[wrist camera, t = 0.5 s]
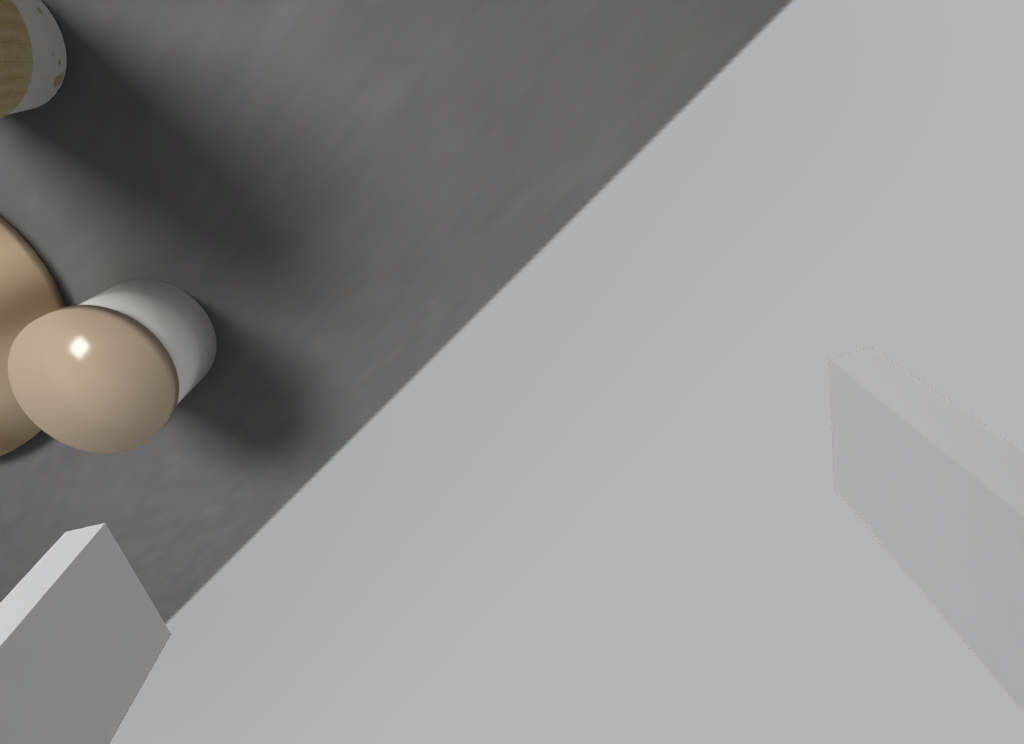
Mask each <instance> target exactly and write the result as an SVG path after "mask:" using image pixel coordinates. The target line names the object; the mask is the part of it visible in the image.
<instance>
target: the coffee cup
mask: <svg viewBox="0 0 1024 744" xmlns="http://www.w3.org/2000/svg"><path fill="white" fill-rule="evenodd" d="M66 64H67V59H66V48H65V44H64V40H63V36H62V33H61V31H60V29H59V27H58V24H57V22H56V20H55V19H54V17H53V16H52V14H51V13H50V11H49V9H48V8H47V7H46V6H45V5H44V4H43V2H42V1H41V0H0V119H1V118H3V117H5V116H7V115H9V114H13V113H17V112H21V111H26V110H30V109H34V108H37V107H39V106H41V105H43V104H45V103H47V102H48V101H49V100H50V99H51V98H52V97H53V96H55V94H56V93H57V91H58V90H59V88H60V87H61V85H62V82H63V79H64V77H65V72H66Z"/></svg>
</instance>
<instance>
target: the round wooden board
mask: <svg viewBox="0 0 1024 744" xmlns="http://www.w3.org/2000/svg"><path fill="white" fill-rule="evenodd" d="M63 307H66V305H65V303H64V301H63V298H62V296H61V293H60V291H59V289H58V287H57V285H56V283H55V281H54V280H53V278H52V276H51V274H50V273H49V271H48V269H47V267H46V266H45V265H44V263H43V262H42V261H41V259H40V258H39V256H38V255H37V254H36V252H35V251H34V250H33V248H32V247H31V246H30V245H29V244H28V243H27V242H26V240H25V239H24V238H23V237H22V236H21V235H20V234H19V233H18V232H17V230H16V229H14V228H13V227H12V226H11V225H10V224H9V223H8V222H7V221H6V220H5V219H3V218H2V217H1V216H0V456H2V455H4V454H6V453H8V452H11V451H13V450H15V449H16V448H18V447H19V446H21V445H23V444H24V443H26V442H27V441H29V440H30V439H31V438H33V437H34V436H35V435H37V434H38V433H39V432H40V431H41V430H42V429H40V428H39V427H38V426H37V425H36V424H35V423H34V422H33V421H32V420H31V419H30V418H29V417H28V416H27V415H26V413H25V412H24V411H23V410H22V408H21V406H20V405H19V403H18V402H17V400H16V398H15V396H14V394H13V391H12V388H11V385H10V382H9V376H8V357H9V353H10V349H11V346H12V344H13V342H14V340H15V338H16V337H17V336H18V334H19V333H20V332H21V331H22V330H23V329H24V328H25V327H26V326H27V325H28V324H30V323H31V322H33V321H34V320H36V319H38V318H40V317H42V316H44V315H46V314H48V313H50V312H52V311H54V310H56V309H59V308H63Z"/></svg>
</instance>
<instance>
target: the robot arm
mask: <svg viewBox="0 0 1024 744" xmlns="http://www.w3.org/2000/svg"><path fill="white" fill-rule="evenodd" d="M828 363H829V364H828V365H829V384H830V385H829V386H830V405H831V425H832V447H833V467H834V485H835V486H834V488H835V491H836V492H837V493H838V495H839V496H840V497H841V498H842V499H843V501H844V502H845V503H846V504H847V505H848V507H849V508H850V509H851V510H852V511H853V512H854V514H855V515H856V516H857V517H858V518H859V519H860V521H861V522H862V523H863V524H864V525H865V526H866V528H867V529H868V530H869V531H870V532H871V533H872V535H873V536H874V537H875V538H876V539H877V541H878V542H879V543H880V544H881V545H882V546H883V548H884V549H885V550H886V551H887V552H888V553H889V555H890V556H891V557H892V558H893V559H894V560H895V562H896V563H897V564H898V565H899V566H900V568H901V569H902V570H903V571H904V572H905V573H906V575H907V576H908V577H909V578H910V579H911V580H912V582H913V583H914V584H915V585H916V586H917V587H918V588H919V590H920V591H921V592H922V593H923V595H924V596H925V597H926V598H927V599H928V600H929V602H930V603H931V604H932V605H933V606H934V607H935V609H936V610H937V611H938V612H939V613H940V614H941V616H942V617H943V618H944V619H945V620H946V622H947V623H948V624H949V625H950V626H951V627H952V629H953V630H954V631H955V632H956V633H957V635H958V636H959V637H960V638H961V639H962V640H963V642H964V643H965V644H966V645H967V646H968V647H969V649H970V650H971V651H972V652H973V653H974V654H975V656H976V657H977V658H978V659H979V660H980V662H981V663H982V664H983V665H984V666H985V667H986V669H987V670H989V672H990V673H991V674H992V676H993V677H994V678H995V679H996V680H997V681H998V683H999V684H1000V685H1001V686H1002V687H1003V689H1004V690H1005V691H1006V692H1007V693H1008V694H1009V695H1010V697H1011V698H1012V699H1013V700H1014V701H1015V702H1016V704H1017V705H1018V706H1019V707H1020V708H1021V710H1022V711H1023V712H1024V451H1023V450H1021V449H1020V448H1018V447H1017V446H1015V445H1014V444H1012V443H1011V442H1010V441H1008V440H1007V439H1005V438H1004V437H1002V436H1001V435H999V434H998V433H997V432H995V431H994V430H992V429H991V428H989V427H988V426H986V425H985V424H983V423H982V422H981V421H979V420H978V419H976V418H975V417H973V416H972V415H970V414H969V413H968V412H966V411H965V410H963V409H962V408H960V407H959V406H958V405H956V404H954V403H953V402H952V401H950V400H949V399H947V398H946V397H944V396H943V395H942V394H940V393H939V392H937V391H936V390H934V389H933V388H931V387H930V386H929V385H927V384H926V383H924V382H923V381H921V380H920V379H918V378H917V377H915V376H914V375H913V374H911V373H910V372H908V371H907V370H905V369H904V368H903V367H901V366H900V365H898V364H897V363H895V362H894V361H892V360H891V359H889V358H888V357H887V356H885V355H884V354H882V353H881V352H879V351H878V350H876V349H875V348H874V347H873V348H868V349H864V350H860V351H855V352H851V353H847V354H842V355H838V356H833V357H829V358H828ZM170 635H171V634H170V632H169V630H168V628H167V627H166V625H165V623H164V622H163V620H162V618H161V617H160V615H159V613H158V611H157V610H156V608H155V606H154V605H153V603H152V601H151V600H150V598H149V596H148V595H147V593H146V591H145V590H144V588H143V586H142V584H141V583H140V581H139V579H138V578H137V576H136V574H135V573H134V571H133V569H132V568H131V566H130V564H129V563H128V561H127V559H126V557H125V556H124V554H123V552H122V551H121V549H120V547H119V546H118V544H117V542H116V541H115V539H114V537H113V536H112V534H111V532H110V530H109V529H108V527H107V525H106V524H105V523H103V524H98V525H94V526H90V527H85V528H81V529H77V530H72V531H68V532H65V533H64V534H63V535H62V537H61V538H60V539H59V540H58V541H57V542H56V543H55V544H54V545H53V546H52V547H51V548H50V550H49V551H48V552H47V553H46V554H45V555H44V556H43V557H42V558H41V559H40V560H39V562H38V563H37V564H36V565H35V566H34V567H33V568H32V569H31V570H30V571H29V572H28V573H27V575H26V576H25V577H24V578H23V579H22V580H21V581H20V582H19V583H18V584H17V585H16V587H15V588H14V589H13V590H12V591H11V592H10V593H9V594H8V595H7V596H6V597H5V598H4V600H3V601H2V602H1V603H0V744H110V742H111V740H112V738H113V736H114V735H115V733H116V731H117V729H118V728H119V726H120V724H121V722H122V720H123V719H124V717H125V715H126V713H127V712H128V710H129V708H130V706H131V704H132V703H133V701H134V699H135V697H136V696H137V694H138V692H139V690H140V688H141V687H142V685H143V683H144V681H145V680H146V678H147V676H148V674H149V672H150V671H151V669H152V667H153V665H154V663H155V662H156V660H157V658H158V656H159V654H160V653H161V651H162V649H163V648H164V646H165V644H166V642H167V640H168V639H169V637H170Z"/></svg>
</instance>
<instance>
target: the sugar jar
mask: <svg viewBox="0 0 1024 744" xmlns="http://www.w3.org/2000/svg"><path fill="white" fill-rule="evenodd" d="M216 348H217V343H216V335H215V331H214V328H213V325H212V323H211V321H210V319H209V317H208V315H207V314H206V312H205V311H204V309H203V308H202V307H201V306H200V304H199V303H198V302H197V301H196V300H194V299H193V298H192V297H191V296H190V295H188V294H187V293H186V292H184V291H183V290H181V289H179V288H177V287H175V286H173V285H171V284H168V283H165V282H163V281H158V280H153V279H134V280H128V281H125V282H122V283H120V284H118V285H115V286H114V287H112V288H110V289H108V290H106V291H104V292H102V293H100V294H98V295H96V296H94V297H93V298H91V299H89V300H87V301H85V302H83V303H81V304H79V305H72V306H66V307H63V308H59V309H56V310H54V311H52V312H50V313H48V314H46V315H44V316H42V317H40V318H38V319H36V320H34V321H33V322H31V323H30V324H28V325H27V326H26V327H25V328H24V329H23V330H22V331H21V332H20V333H19V334H18V336H17V337H16V338H15V340H14V342H13V344H12V346H11V349H10V353H9V357H8V376H9V382H10V385H11V388H12V391H13V394H14V396H15V398H16V400H17V402H18V403H19V405H20V406H21V408H22V410H23V411H24V412H25V413H26V415H27V416H28V417H29V418H30V419H31V420H32V421H33V422H34V423H35V424H36V425H37V426H38V427H39V428H40V429H42V430H43V431H44V432H45V433H47V434H48V435H50V436H51V437H53V438H54V439H56V440H58V441H60V442H62V443H64V444H66V445H69V446H71V447H74V448H77V449H80V450H84V451H89V452H94V453H118V452H124V451H128V450H132V449H134V448H137V447H139V446H141V445H143V444H145V443H146V442H148V441H149V440H150V439H152V438H153V437H154V436H155V435H156V434H157V433H158V432H159V431H160V430H161V429H162V428H163V427H164V426H165V425H166V423H167V422H168V421H169V420H170V418H171V417H172V415H173V413H174V411H175V409H176V406H177V404H178V403H179V402H180V401H181V400H182V399H183V398H184V397H185V396H186V395H187V394H188V393H189V392H190V391H191V390H192V389H193V388H194V387H195V386H196V385H197V384H198V383H199V382H200V381H201V380H202V379H203V378H204V377H205V375H206V374H207V373H208V372H209V370H210V368H211V367H212V365H213V362H214V360H215V356H216Z"/></svg>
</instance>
